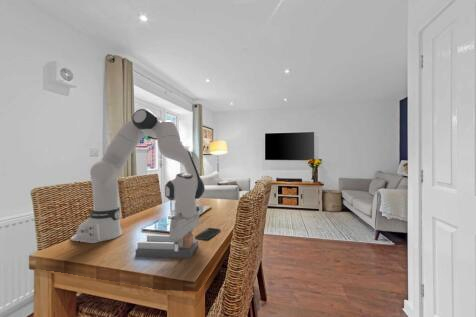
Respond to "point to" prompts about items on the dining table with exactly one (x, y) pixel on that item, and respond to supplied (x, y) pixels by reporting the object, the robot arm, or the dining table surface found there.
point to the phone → (207, 234)
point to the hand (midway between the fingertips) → (185, 242)
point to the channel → (163, 247)
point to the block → (187, 241)
